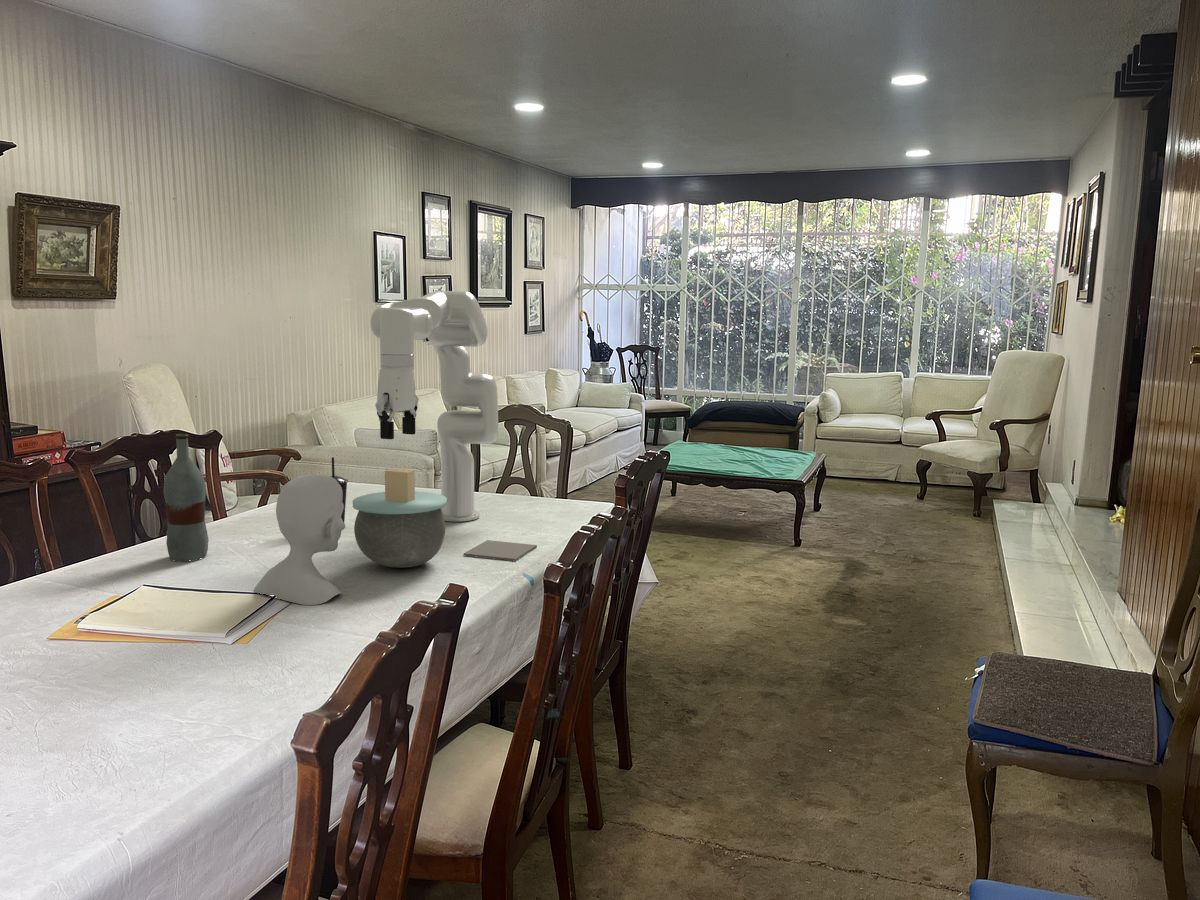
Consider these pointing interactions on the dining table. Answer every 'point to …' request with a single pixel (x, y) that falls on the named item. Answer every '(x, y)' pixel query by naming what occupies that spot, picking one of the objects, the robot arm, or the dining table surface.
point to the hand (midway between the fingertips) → (398, 436)
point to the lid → (399, 496)
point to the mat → (500, 550)
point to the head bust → (306, 539)
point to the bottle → (185, 506)
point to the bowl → (400, 537)
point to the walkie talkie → (343, 485)
